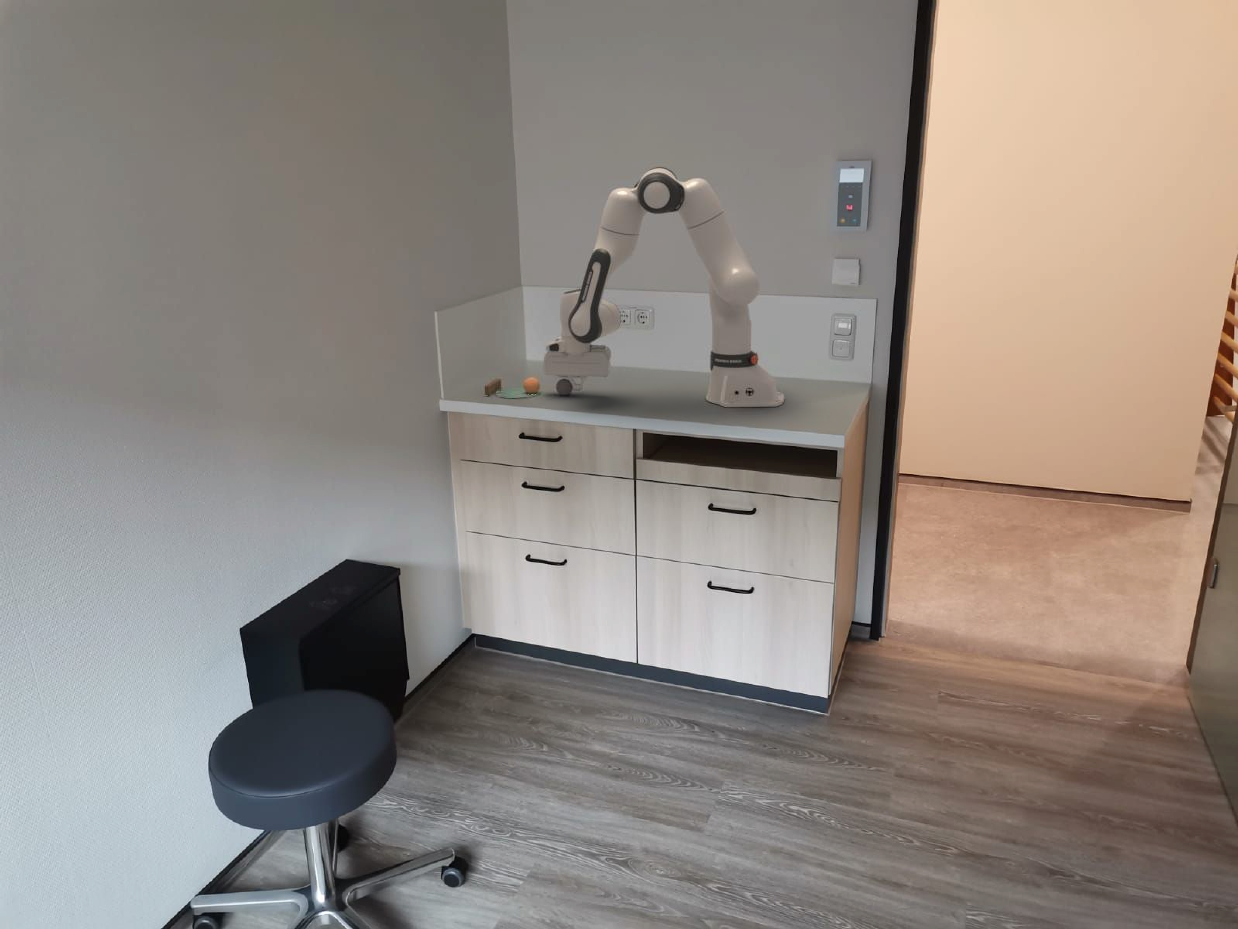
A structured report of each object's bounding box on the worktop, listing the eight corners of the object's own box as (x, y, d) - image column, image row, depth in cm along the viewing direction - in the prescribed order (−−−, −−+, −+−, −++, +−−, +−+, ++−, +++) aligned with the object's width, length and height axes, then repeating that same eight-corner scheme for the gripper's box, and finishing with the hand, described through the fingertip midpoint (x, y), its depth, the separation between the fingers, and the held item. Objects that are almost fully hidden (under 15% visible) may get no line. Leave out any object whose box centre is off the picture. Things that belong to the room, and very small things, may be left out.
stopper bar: (501, 388, 285) (500, 378, 284) (489, 396, 276) (489, 386, 275) (496, 388, 286) (496, 378, 285) (485, 396, 276) (484, 386, 275)
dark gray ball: (556, 378, 277) (560, 393, 278) (552, 382, 272) (556, 398, 274) (572, 375, 276) (575, 391, 277) (568, 379, 271) (572, 395, 272)
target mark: (546, 388, 284) (546, 387, 284) (532, 399, 271) (532, 399, 271) (504, 386, 287) (504, 386, 287) (488, 397, 274) (488, 397, 274)
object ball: (535, 372, 278) (523, 381, 280) (530, 376, 274) (518, 385, 275) (545, 385, 279) (533, 394, 281) (540, 389, 274) (527, 398, 276)
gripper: (613, 343, 270) (614, 388, 275) (546, 341, 275) (549, 386, 279) (608, 347, 265) (609, 393, 269) (540, 345, 269) (542, 391, 274)
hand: (577, 390), depth 274 cm, fingers closed
